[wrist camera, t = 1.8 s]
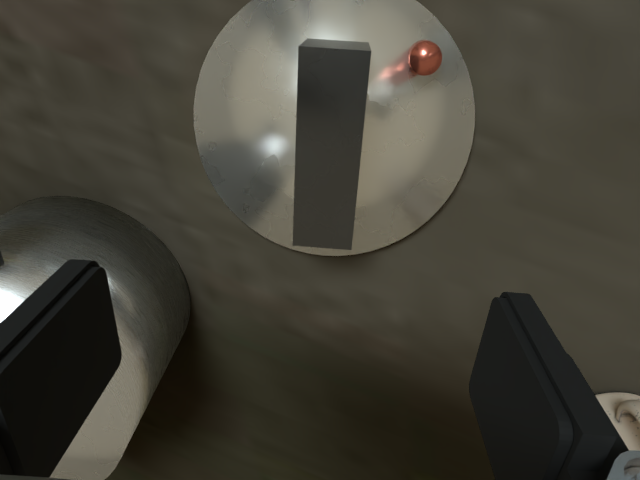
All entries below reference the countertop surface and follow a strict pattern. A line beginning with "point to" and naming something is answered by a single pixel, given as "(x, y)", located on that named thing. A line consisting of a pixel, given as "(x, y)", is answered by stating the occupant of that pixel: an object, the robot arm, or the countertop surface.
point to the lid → (334, 121)
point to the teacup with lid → (623, 415)
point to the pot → (127, 299)
